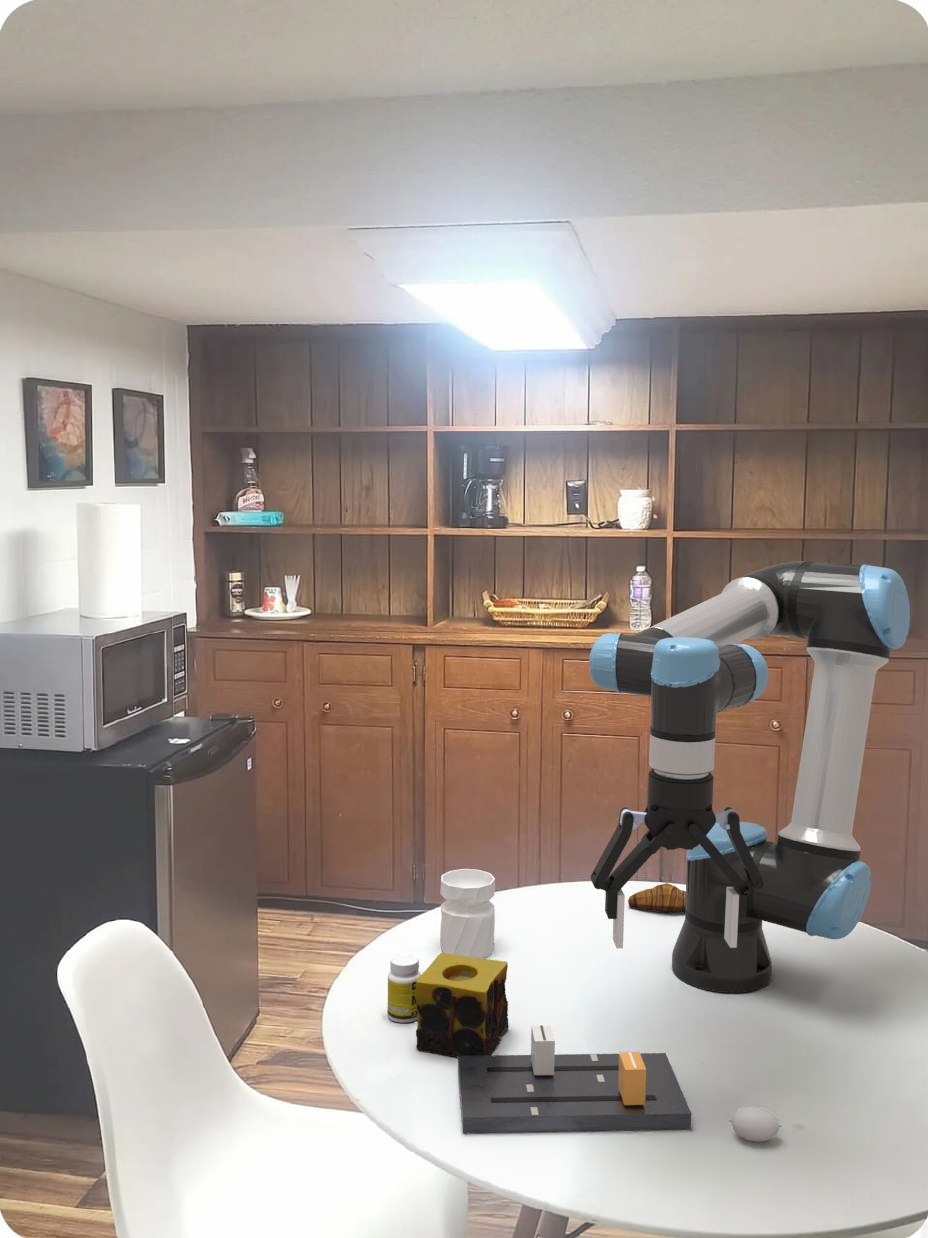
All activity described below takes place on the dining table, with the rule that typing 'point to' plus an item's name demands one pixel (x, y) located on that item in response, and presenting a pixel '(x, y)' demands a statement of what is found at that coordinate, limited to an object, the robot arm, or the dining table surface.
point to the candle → (461, 1006)
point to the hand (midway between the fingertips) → (674, 943)
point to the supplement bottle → (403, 988)
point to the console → (566, 1095)
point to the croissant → (660, 899)
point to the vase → (467, 913)
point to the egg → (755, 1123)
